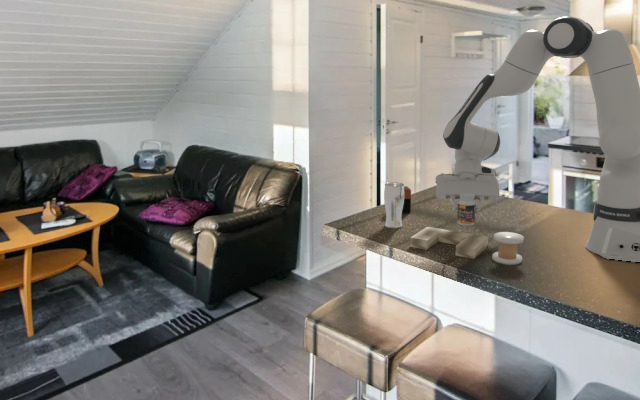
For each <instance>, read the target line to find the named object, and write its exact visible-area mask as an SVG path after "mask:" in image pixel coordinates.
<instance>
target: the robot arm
mask: <svg viewBox="0 0 640 400" xmlns="http://www.w3.org/2000/svg"><path fill="white" fill-rule="evenodd" d="M630 49H631V48H630V46H629V44H628V42H627V39H626V38H625V36H624V34H623V32H621V30H618V29H610V28H609V29H603V30H601V31H595V30H594V28H593V27H592V25H591V24H589V23H588V22H586V21H585V20H583V19H581V18H578V17H574V16H568V15H567V16H562V17H561V16H560V17H557V18H556V19H554V20H552V21H551V22H550V23H549V24H548V25H547V26H546V28H545V30H544V31H541V30H537V29H536V30H535V29H530V30H526V31H524V32H523V33H522V34H521V35H520V36H519V37H518V39H517V40H516V41H515V43H514V45H513V46H512V47H511V48H510V51H509V52H508V54H507V55H506V57H505V60H504V61H503V62H502V64H501V66H499V68H498V69H497V70H495V71H494V72H493V73H491V74H486V75H485V76H484V77H483V78H482V79H481V81H480V82H479V83H478V84H477V85H476V87H475V88H474V90H473V91H472V92H471V93H470V95H469V96H468V98H467V99H466V100H465V102H464V103H463V105H462V106H461V108H459V110H458V112H457V113H456V114H455V115H454V117H452V118H451V119H450V121H449V122H448V123H447V125H446V126H445V128H444V130H443V133H442V134H443V135H442V137H443V139H444V142H445V144H446V146H447V147H448V148H449V149H454V160H455V162H454V171H453V173H451V172H450V173H442V172H441V173H440V174H437V175H436V176H435V184H436V188H435V197H436V198H437V199H441V200H449V202H450V204H451V205H452V209H453V211H458V202H455V200H460V194H461V193H473V194H475V198H474V201H478V202H479V203H476V210H475V212H480V211H481V207H482V206H483V204H484V203H485V201H492V202H493V201H494V202H496V201H498V199H500V185H499V180H498V178H497V177H496V170H495V169H494V168H493V167H492V168H491V167H489V166H485V165H482V164H481V163H482V162H484V161H486V160H488V159H490V158H492V157H493V156H495V155H496V154H497V153H498V151H499V150H500V147H501V137H500V134H499V132H498V131H497V130H496V129H494V128H490V127H487V126H484V125H481V124H478V123H474V122H472V120H473V118H474V117H475V116H476V114H477V113H478V111H480V109H481V108H482V106H483V105H484V104H485V103H486V102H487V101H489V100H490V99H492V98H497V97H514V96H518V95H521V94H524V93H526V92H528V91H529V90H531V88H532V87H533V85H534V84H535V82H537V81H536V80H537V79H538V77H539V75H540V73H541V72H542V70H543V68H544V66H545V65H546V63H547V62H548V61H549V60H550V59H552V58H553V57H560V58H563V59H574V58H575V59H576V58H579V57H580V58H581V59H583V60H584V62H585V64H586V68H587V70H588V76H589V80H590V84H591V88H592V93H593V96H594V97H593V98H594V102H595V108H596V121H597V129H598V130H597V131H598V136H599V146H600V150H601V152H603V154H604V155H605V158H604V162H603V166H602V169H601V171H600V172H601V173H600V176H599V182H598V184H599V185H598V192H597V200H596V201H595V202H594V208H593V216H592V217H593V219H592V220H593V224H592V227H591V231H590V235H589V237H588V239H587V242H586V243H585V248H586V250H588V251H590V252H591V253H594V254H597V255H599V256H601V257H602V258H604V259H605V258H606V260H609V259H615V260H614V261H618V260H622V261H621V262H626V261H631V262H630V263H635V262H640V84H639V79H638V74H637V70H636V66H635V65H636V64H635V62H634V58H633V54H632V52H631V50H630Z"/></svg>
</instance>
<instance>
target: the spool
mask: <svg viewBox="0 0 640 400" xmlns="http://www.w3.org/2000/svg"><path fill="white" fill-rule="evenodd" d="M493 240H494V241H495V242H497V243H498V247H497V249H498V250H497V251H496V252H493V253H492V255H491V256H492V257H491V259H492V260H493V262H495V263H498V264H502V265H506V266H508V265H509V266H515V265H519V264H522V262H523V256H522V255H520V254H518V246H519V245H520V244H523V243H524V241H525V237H524V236H523V235H522V234H519V233H517V232H512V231H511V232H510V231H499V232H495V233H494V234H493Z"/></svg>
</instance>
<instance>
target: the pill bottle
mask: <svg viewBox="0 0 640 400" xmlns="http://www.w3.org/2000/svg"><path fill="white" fill-rule="evenodd" d="M474 198H475V194H473V193H461V194H460V199H458V201H457V203H458V210H456V211H457V212H456V213H457V214H456V215H457V216H456V223H457V224H458V225H460V226H473V225H474V224H475V223H476V211H475V210H476V204H477V202H476V200H474Z"/></svg>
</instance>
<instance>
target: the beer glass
mask: <svg viewBox="0 0 640 400" xmlns="http://www.w3.org/2000/svg"><path fill="white" fill-rule="evenodd" d="M404 186H405V184H404V183H403V182H398V181H397V182H395V181H394V182H386V183H385V184H384V190H383V191H384V192H383V201H384V202H383V203H384V208H385V222H384V223H385V224H384V227H385V228H386V229H396V230H397V229H401V228H403V221H402V217H403V216H402V215H403V213H402V210H403V205H404Z"/></svg>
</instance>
